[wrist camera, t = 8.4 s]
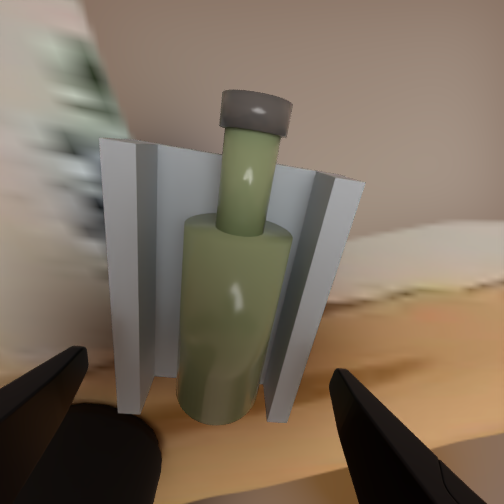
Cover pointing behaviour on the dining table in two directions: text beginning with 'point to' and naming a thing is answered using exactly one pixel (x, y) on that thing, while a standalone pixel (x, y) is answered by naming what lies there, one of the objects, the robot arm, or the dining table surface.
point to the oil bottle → (233, 267)
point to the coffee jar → (96, 461)
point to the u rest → (171, 255)
